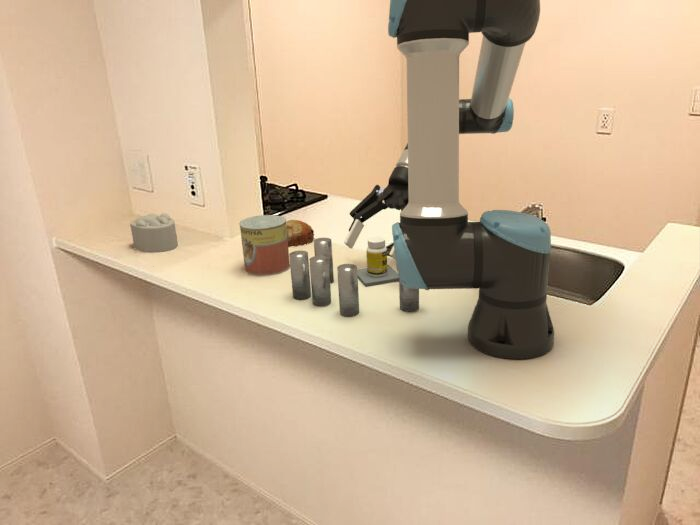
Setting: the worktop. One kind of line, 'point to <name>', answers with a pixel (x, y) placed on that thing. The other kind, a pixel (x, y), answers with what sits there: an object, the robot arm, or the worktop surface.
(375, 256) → the supplement bottle
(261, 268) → the canned food
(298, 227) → the bread roll
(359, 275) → the mat
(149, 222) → the lumpy-topped squat cylinder
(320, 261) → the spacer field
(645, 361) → the worktop surface
